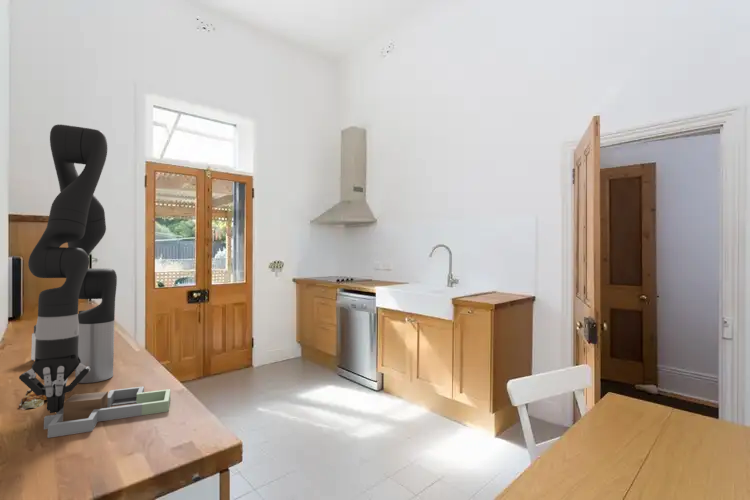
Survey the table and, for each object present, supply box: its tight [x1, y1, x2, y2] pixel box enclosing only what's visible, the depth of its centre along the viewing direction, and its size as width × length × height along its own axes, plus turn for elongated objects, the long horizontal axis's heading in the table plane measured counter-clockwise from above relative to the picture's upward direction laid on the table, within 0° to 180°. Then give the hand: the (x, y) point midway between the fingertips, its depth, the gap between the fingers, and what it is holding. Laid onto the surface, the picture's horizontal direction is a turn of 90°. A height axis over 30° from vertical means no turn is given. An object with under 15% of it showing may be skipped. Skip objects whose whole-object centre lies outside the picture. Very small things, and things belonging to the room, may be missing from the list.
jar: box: [30, 324, 36, 361], centre depth 135 cm, size 9×8×12 cm
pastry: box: [18, 389, 47, 411], centre depth 97 cm, size 7×12×4 cm, turn 30°
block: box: [63, 391, 109, 422], centre depth 88 cm, size 5×7×4 cm
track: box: [43, 385, 172, 439], centre depth 90 cm, size 19×24×2 cm
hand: (55, 411), depth 85 cm, fingers closed
